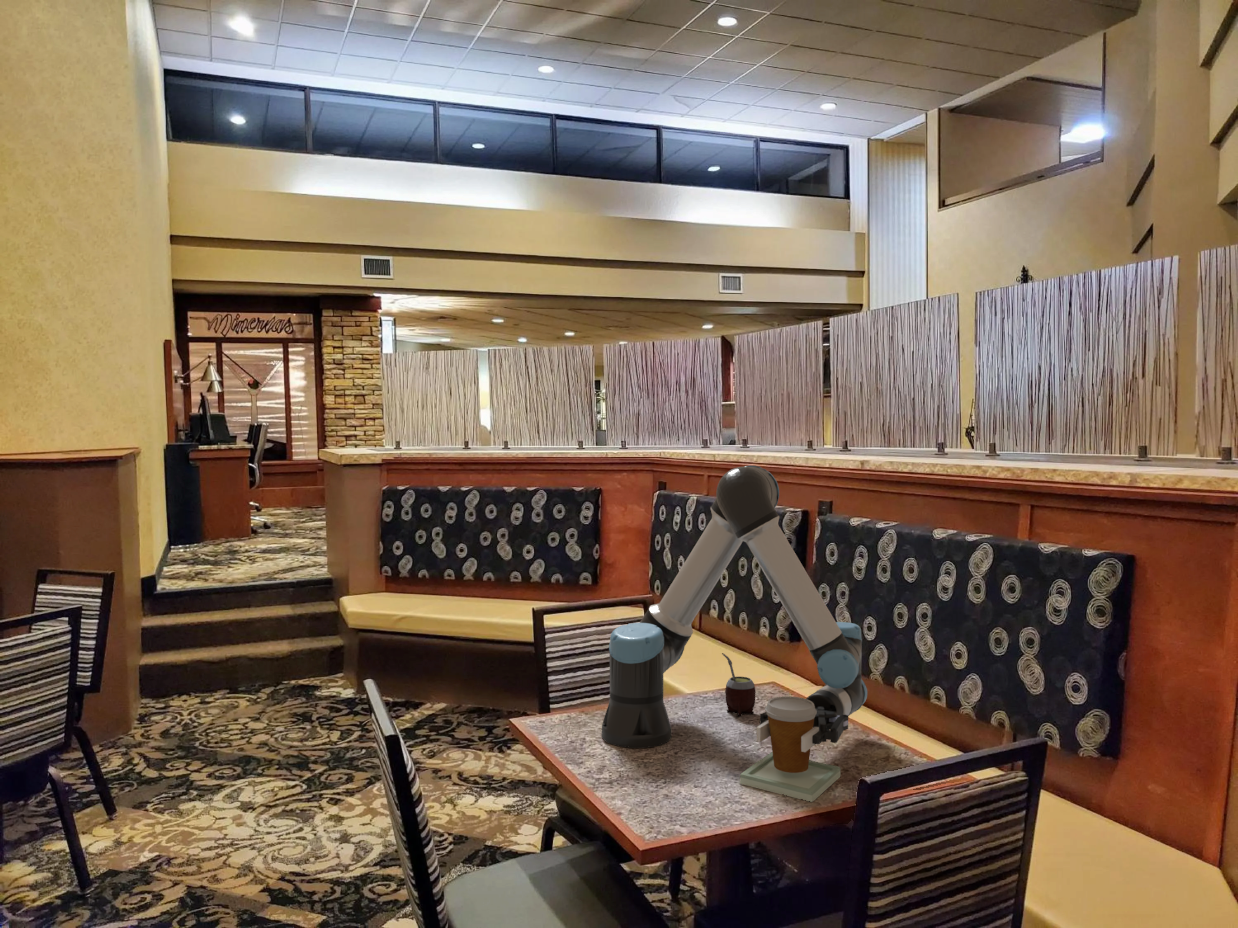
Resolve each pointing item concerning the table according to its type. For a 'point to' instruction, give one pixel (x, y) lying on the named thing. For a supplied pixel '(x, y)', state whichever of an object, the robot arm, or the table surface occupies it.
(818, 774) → the coaster plate
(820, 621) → the robot arm
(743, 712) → the mate gourd
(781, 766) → the disposable coffee cup
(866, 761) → the table surface
